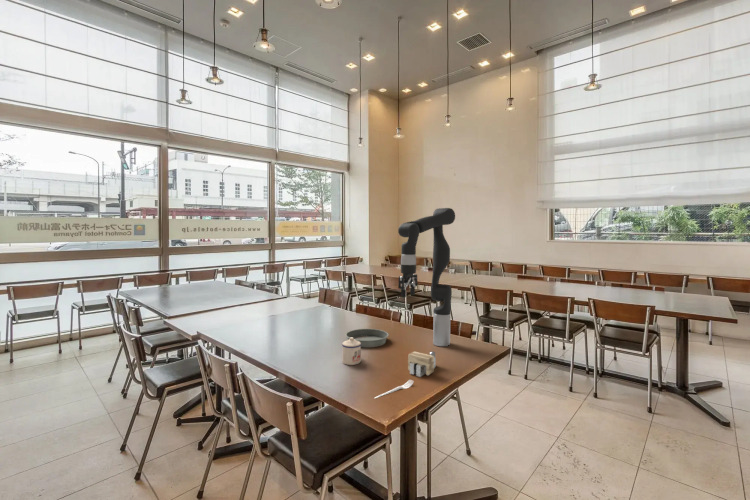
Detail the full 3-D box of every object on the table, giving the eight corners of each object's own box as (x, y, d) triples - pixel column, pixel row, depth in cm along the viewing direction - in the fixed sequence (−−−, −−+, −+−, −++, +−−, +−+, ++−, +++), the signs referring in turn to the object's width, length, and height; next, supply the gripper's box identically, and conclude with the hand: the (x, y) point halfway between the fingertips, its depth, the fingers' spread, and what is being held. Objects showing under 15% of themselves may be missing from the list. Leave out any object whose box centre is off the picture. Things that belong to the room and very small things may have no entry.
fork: (371, 398, 134) (371, 393, 134) (409, 383, 147) (409, 378, 147) (377, 401, 132) (377, 396, 132) (414, 385, 144) (414, 381, 144)
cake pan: (389, 336, 214) (389, 328, 214) (387, 349, 190) (387, 341, 190) (349, 334, 217) (349, 327, 216) (341, 347, 192) (341, 339, 192)
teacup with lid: (355, 366, 164) (355, 341, 164) (338, 363, 168) (338, 338, 168) (367, 358, 175) (367, 335, 174) (351, 355, 179) (351, 332, 178)
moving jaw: (429, 363, 169) (429, 350, 169) (436, 364, 167) (436, 352, 166) (409, 373, 156) (409, 360, 156) (416, 375, 154) (416, 361, 153)
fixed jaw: (431, 366, 165) (431, 356, 165) (435, 367, 164) (435, 357, 164) (416, 376, 154) (416, 365, 154) (420, 377, 153) (420, 366, 152)
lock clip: (413, 366, 163) (414, 351, 162) (433, 371, 157) (433, 356, 156) (408, 369, 159) (408, 354, 158) (428, 375, 153) (428, 359, 152)
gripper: (407, 264, 169) (407, 299, 170) (422, 263, 181) (421, 295, 181) (394, 264, 174) (393, 297, 174) (409, 262, 185) (409, 293, 186)
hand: (408, 296), depth 178 cm, fingers open, 8 cm apart
